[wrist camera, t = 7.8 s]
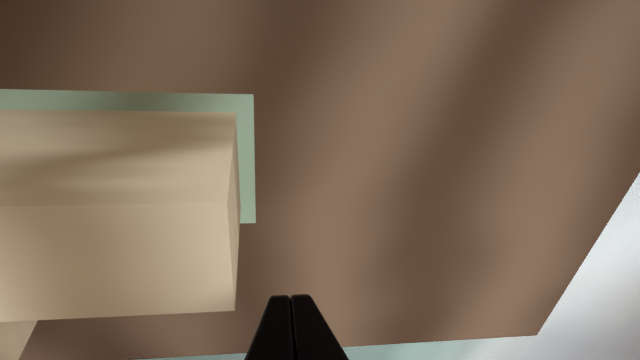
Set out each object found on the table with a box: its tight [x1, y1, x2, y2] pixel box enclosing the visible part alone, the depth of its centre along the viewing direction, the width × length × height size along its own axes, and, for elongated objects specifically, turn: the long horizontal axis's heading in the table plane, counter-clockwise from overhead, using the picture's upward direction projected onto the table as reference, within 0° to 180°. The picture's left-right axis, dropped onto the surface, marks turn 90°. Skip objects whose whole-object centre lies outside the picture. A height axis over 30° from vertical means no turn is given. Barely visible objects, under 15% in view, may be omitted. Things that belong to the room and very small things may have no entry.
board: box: [0, 0, 640, 360], centre depth 13 cm, size 26×20×1 cm
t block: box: [0, 109, 241, 360], centre depth 11 cm, size 10×10×4 cm
